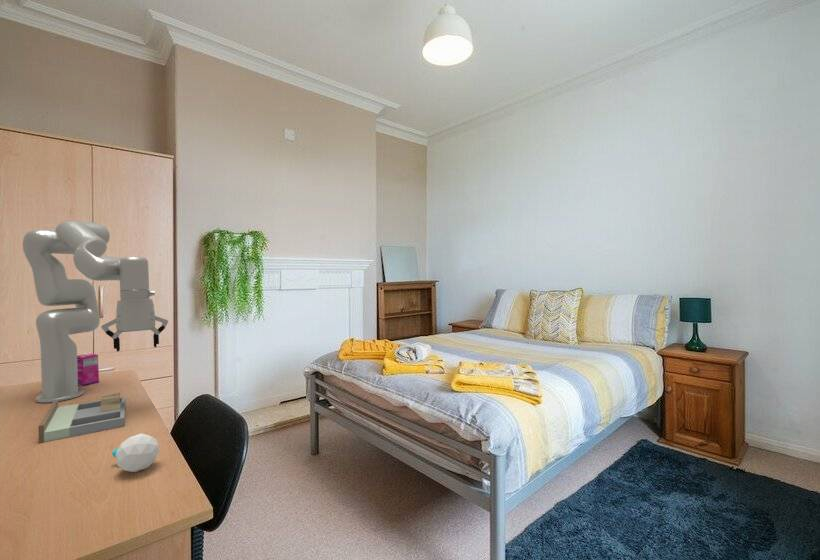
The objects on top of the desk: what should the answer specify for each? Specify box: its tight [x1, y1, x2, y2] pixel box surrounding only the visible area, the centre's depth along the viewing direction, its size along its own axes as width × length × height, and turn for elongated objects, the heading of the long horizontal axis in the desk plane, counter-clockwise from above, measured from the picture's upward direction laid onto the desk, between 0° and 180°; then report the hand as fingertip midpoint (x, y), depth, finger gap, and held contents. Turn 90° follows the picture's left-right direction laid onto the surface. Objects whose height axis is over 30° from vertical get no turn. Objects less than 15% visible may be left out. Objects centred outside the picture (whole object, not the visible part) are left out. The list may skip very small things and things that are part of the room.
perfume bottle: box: [111, 432, 160, 473], centre depth 87 cm, size 8×8×12 cm
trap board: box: [38, 396, 127, 444], centre depth 114 cm, size 23×18×4 cm
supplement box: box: [77, 352, 100, 387], centre depth 151 cm, size 6×6×12 cm
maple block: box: [100, 392, 121, 412], centre depth 117 cm, size 4×4×4 cm
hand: (137, 348), depth 121 cm, fingers open, 9 cm apart
